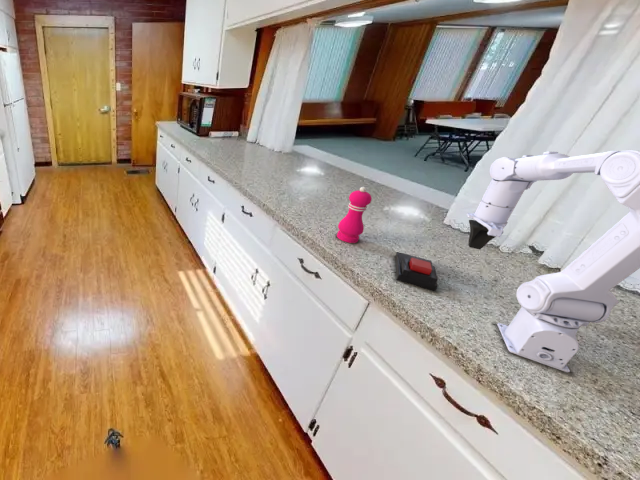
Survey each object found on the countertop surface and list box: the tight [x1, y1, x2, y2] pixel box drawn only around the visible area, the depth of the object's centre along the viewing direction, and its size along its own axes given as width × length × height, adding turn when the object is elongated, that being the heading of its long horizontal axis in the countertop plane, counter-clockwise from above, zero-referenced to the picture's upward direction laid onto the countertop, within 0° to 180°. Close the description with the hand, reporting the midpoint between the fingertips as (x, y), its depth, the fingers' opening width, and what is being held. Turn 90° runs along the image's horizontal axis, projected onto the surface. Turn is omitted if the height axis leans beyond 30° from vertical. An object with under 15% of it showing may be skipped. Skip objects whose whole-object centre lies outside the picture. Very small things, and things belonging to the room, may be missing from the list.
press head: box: [409, 258, 432, 275], centre depth 83 cm, size 4×4×2 cm
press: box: [394, 251, 439, 292], centre depth 86 cm, size 14×8×4 cm, turn 142°
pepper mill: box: [336, 186, 373, 244], centre depth 101 cm, size 7×7×20 cm
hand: (474, 247), depth 81 cm, fingers closed
